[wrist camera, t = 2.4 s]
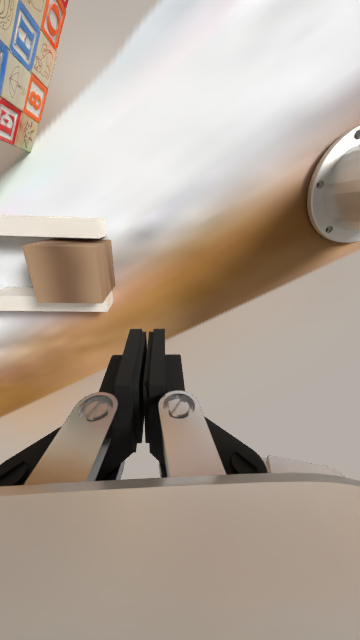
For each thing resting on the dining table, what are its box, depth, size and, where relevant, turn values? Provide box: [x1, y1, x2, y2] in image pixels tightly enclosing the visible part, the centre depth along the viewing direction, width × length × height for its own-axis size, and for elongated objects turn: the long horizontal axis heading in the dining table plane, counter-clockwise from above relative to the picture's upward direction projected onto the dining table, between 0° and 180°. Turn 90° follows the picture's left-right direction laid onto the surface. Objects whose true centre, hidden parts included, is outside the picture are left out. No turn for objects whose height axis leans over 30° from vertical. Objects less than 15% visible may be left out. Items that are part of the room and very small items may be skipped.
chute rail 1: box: [0, 214, 106, 239], centre depth 25 cm, size 14×2×4 cm, turn 88°
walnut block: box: [22, 238, 115, 303], centre depth 26 cm, size 7×6×7 cm
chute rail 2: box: [0, 287, 113, 312], centre depth 29 cm, size 14×2×4 cm, turn 88°
